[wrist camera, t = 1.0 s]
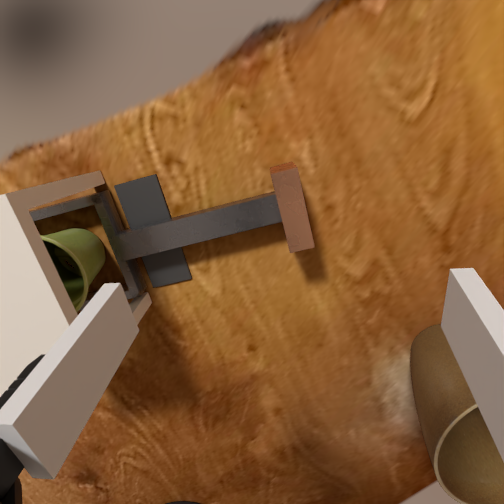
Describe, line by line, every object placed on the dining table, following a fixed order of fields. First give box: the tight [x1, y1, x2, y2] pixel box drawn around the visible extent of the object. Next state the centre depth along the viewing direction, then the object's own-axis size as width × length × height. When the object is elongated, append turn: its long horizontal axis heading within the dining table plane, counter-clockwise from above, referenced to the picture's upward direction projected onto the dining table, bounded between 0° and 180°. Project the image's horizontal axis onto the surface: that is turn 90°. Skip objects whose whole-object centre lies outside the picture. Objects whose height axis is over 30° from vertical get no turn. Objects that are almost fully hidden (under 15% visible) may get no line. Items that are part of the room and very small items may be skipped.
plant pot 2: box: [411, 324, 504, 504], centre depth 39 cm, size 15×15×16 cm
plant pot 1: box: [40, 228, 105, 312], centre depth 39 cm, size 9×9×9 cm
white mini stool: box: [0, 171, 192, 397], centre depth 36 cm, size 17×18×16 cm
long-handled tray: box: [29, 162, 315, 311], centre depth 39 cm, size 12×33×6 cm, turn 105°
